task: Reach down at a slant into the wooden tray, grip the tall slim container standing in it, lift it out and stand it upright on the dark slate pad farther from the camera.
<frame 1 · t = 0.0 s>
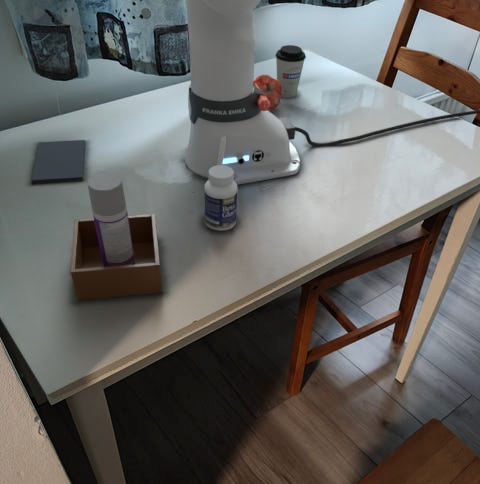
pad: (60, 161, 101), on the table
wooden tray: (120, 269, 80), on the table
pill bottle: (220, 223, 89), on the table
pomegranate: (264, 108, 120), on the table
coffee cup: (286, 94, 125), on the table
container: (120, 268, 80), resting on wooden tray
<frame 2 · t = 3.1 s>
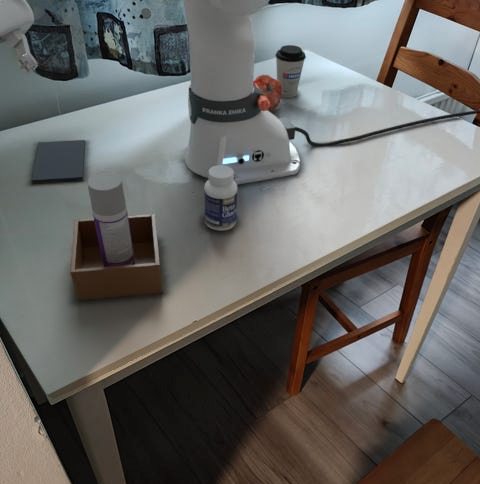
hand: (8, 81, 66), 25 cm above the table, tool tilted 40°, fingers open, 8 cm apart
nothing on the table moved.
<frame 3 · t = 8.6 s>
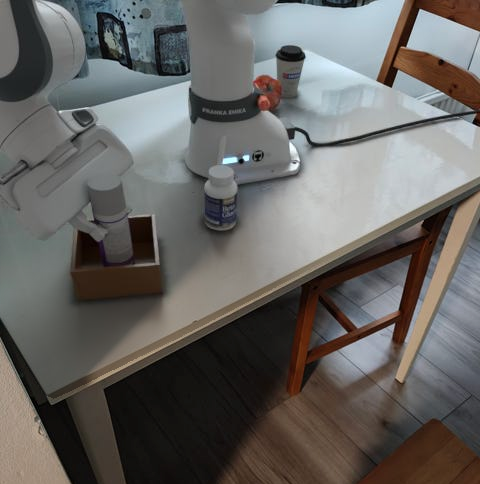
hand: (116, 225, 74), 8 cm above the table, tool tilted 45°, fingers closed on container, 4 cm apart
container: (120, 268, 80), resting on wooden tray, touching gripper
everything else where it was.
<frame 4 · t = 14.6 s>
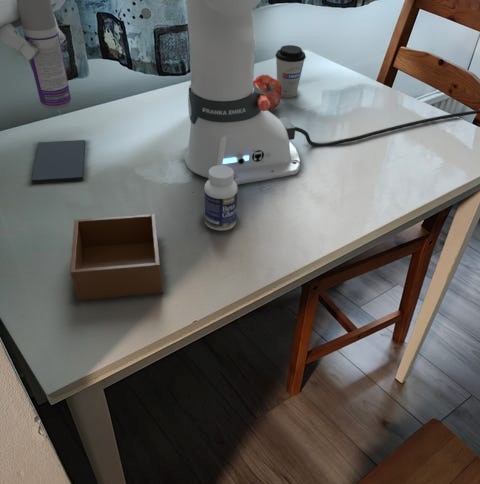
hand: (48, 49, 76), 24 cm above the table, tool tilted 45°, fingers closed on container, 4 cm apart
container: (56, 103, 82), point 16 cm above the table, touching gripper
everything else where it was.
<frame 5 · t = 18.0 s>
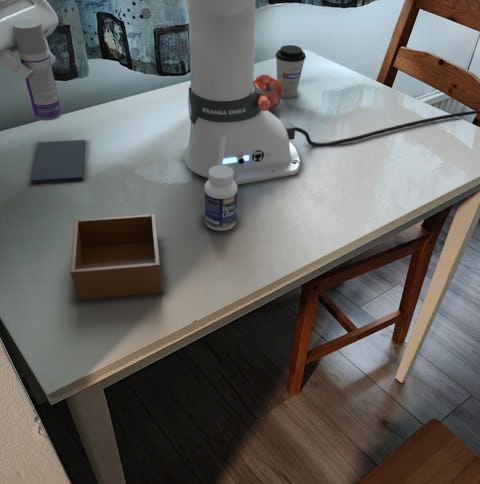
hand: (40, 69, 88), 17 cm above the table, tool tilted 45°, fingers closed on container, 4 cm apart
container: (48, 115, 94), point 9 cm above the table, touching gripper
everything else where it was.
when the fingers open (8 cm above the table, at t = 20.8 s): container stays where it is, resting on pad.
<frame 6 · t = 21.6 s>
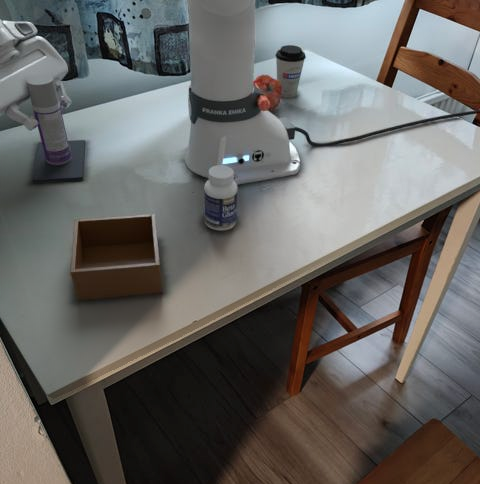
hand: (52, 116, 94), 9 cm above the table, tool tilted 45°, fingers open, 8 cm apart
container: (59, 159, 101), resting on pad
everything else where it was.
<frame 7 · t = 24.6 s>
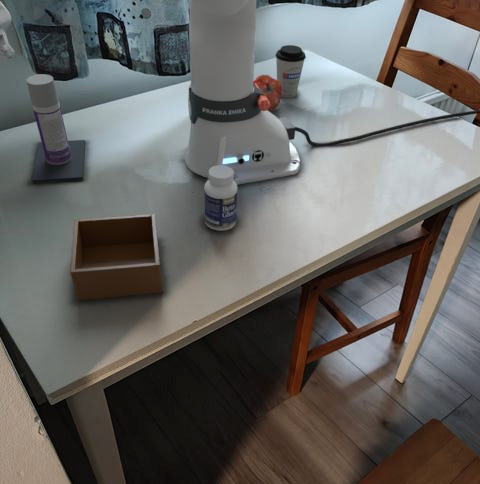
nothing on the table moved.
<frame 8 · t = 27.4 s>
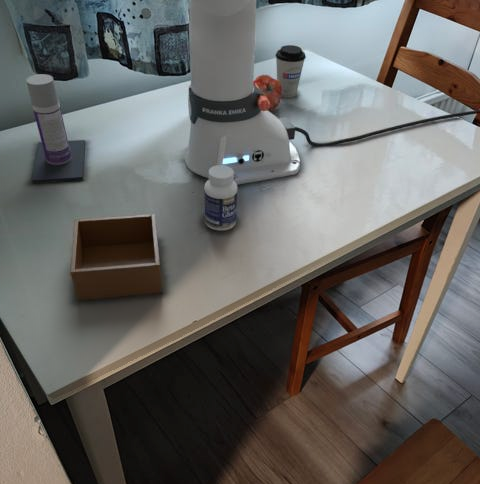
nothing on the table moved.
at the end: container inside the target area on the pad (0.1 cm from its centre), point 0.4 cm above the pad's base; container tilted 0°; container touching pad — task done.
